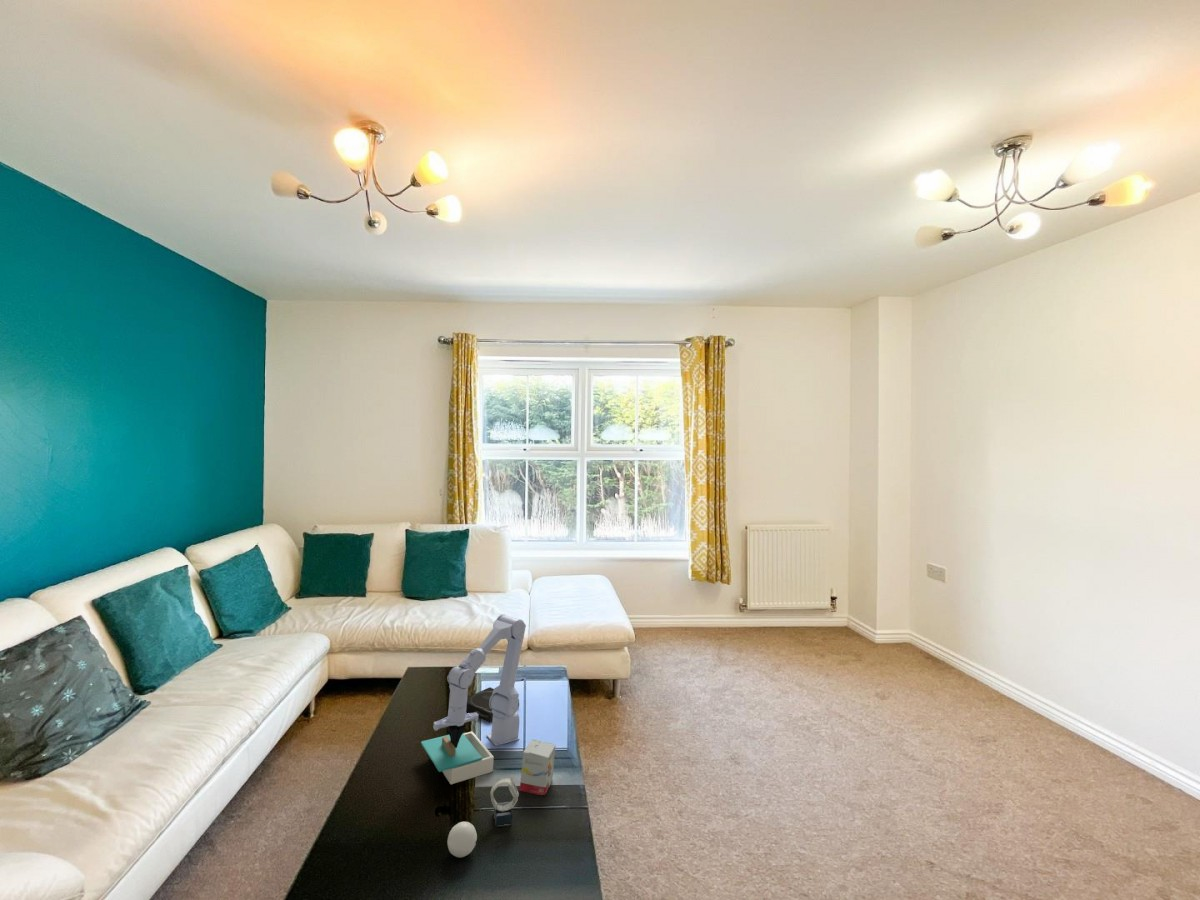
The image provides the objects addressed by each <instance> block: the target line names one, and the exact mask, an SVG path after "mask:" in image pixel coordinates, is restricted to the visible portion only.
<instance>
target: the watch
mask: <svg viewBox="0 0 1200 900" xmlns="http://www.w3.org/2000/svg"><path fill="white" fill-rule="evenodd" d="M502 785H507V787H508V790H509V792H510V794H511V796H512V797H513V798H512V800H511V801H503V802H501V801H500V802H497V801H496V799H495V796H494V793H495V791H496V789H498V788H499V787H500V786H502ZM489 795H490V800H491V803H492V806H493V814H494V816H493V820H494V819H495V821H494V826H495V825H496V826H498V825H504V824H511V825H512V823H513V822H512V821H513V820H512V819H513V812H512V809H513V808H514V806H516V805H517V804H516V803H517V802H518V800H519V799H518V797H519V796H520V794H519V791H518V788H517V786H516V783H515V781H514V780H513V778H509V777H503V778H499V779H497V781H495V782H494V783H493V785H492V787H491V789H490V793H489ZM493 814H492V815H493Z"/></svg>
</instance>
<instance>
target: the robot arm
mask: <svg viewBox="0 0 1200 900" xmlns="http://www.w3.org/2000/svg"><path fill="white" fill-rule="evenodd" d="M526 626H527V625H526V623H525V621H523V619H520V618H516V617H512V616H509V615H507V614H505V613H503V614H499V616H497V618H496V619H495V620H494V621H493V626H492V629H491V630H490V632H489V633H488V635H487V636H486V637H485V639H484V640H483V641H482V643H481V644H480V645H479V647H477V648H473V649H472V650H470V652H469V653H468V654H467V656H465V657H464V659H463V660H462V661H461V662H460V664H458V665H456V666H453V667H452V668H451V669H450V670H449V672H448V675H447V678H446V679H447V682H448V684H449V686H448V688H449V691H450V692H449V697H448V700H449V701H448V711H447V716H446V717H444V718H443V717H442V719H438V720H437V721H433V726H432V728H433V730H434V731H435V732H436V731H439V729H444V728H446V729H447V732H448V735H450V740H451V742H452V744H453V745H454V747H455V748H457V746H458V743H459V740H460V738H461V735H462V734H464V733H465V731H466V729H467V725H466V723H469V722H473V721H475V722H478V721H479V718H478V714H477V713H476V712H475V713H467V712H466V707H467V697H469V696H468V693H469V687H470V686H471V685H472V683H473V681H474V677H475V676H476V672H478V670H479V669H480V668H481V666H482V665H483V664H484V663H485V661H486V657H487V656H486V655H487V654H488V653H489V652H490V651H491V650H492V649H493V648H494V647H495V646H496V645H497V644H498V643H499V642H500V641H501V640H507V645H506V650H505V655H504V660H503V665H502V669H501V675H500V676H501V677H500V681H499V685H497V686H495V687H494V688H493V694H492V696H491V698H490V701H489V706H490V708H491V709H492V713H493V720H492V722H491V731H490V732H489V733H487V734H486V736H487V738H488V739H489V740H490V741H491V743H492V744H493V745H494V746H501V745H504V744H507V743H512V742H515V741H519V740H520V737H519V734H520V733H519V729H520V715H519V713H518V709H519V707H520V701H519V702H518V699H519V698H520V697H519V696H520V695H519V693H518V691H517V690H516V686H515V685H516V684H515V683H516V679H517V673H518V667H519V663H520V659H521V658H520V657H521V652H522V648H523V642H524V638H525V632H526ZM518 706H519V707H518Z"/></svg>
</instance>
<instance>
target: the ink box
mask: <svg viewBox="0 0 1200 900" xmlns="http://www.w3.org/2000/svg"><path fill="white" fill-rule="evenodd" d="M556 747H557V746H556V744H554V743H551V742H545V741H542V740H536V739H531V740H530V742H529V743H528V745H526V747H525V749H524V750H523V753H522V762H521V771H520V773H521V774H520V780H519V781H520V782H519V791H520V792H525V793H529V794H534V795H539V796H543V795H545V794H546V795H547V792H548V791H549V789H550V786H551V784H552V781H553V775H554V768H555V767H554V765H555V755H556ZM546 795H545V796H546Z"/></svg>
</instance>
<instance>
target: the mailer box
mask: <svg viewBox="0 0 1200 900" xmlns="http://www.w3.org/2000/svg"><path fill="white" fill-rule="evenodd" d="M463 734H464V735H465V737H466V738H467V739H468V740H469V742H470V743H471V744H472V745H473V747H474V748H475V749H476V750H477V752H478V753H479V754H480V755H481V757H482V760H479V761H475V762H472V763H468V764H465V765H461V766H458V767H454V768H451V769H447V770H444V771H441V772H442V773H443V775H444V777H445V778H446V780H447V781H448V782H449V784H450V785H453V784H456V783H460V782H464V781H466V780H469V779H473V778H476V777H481V776H482V775H487V774H489V773H492V772H494V759H495V758H494V755H493V754H492V753H491V752H490V750H489V749H488V747H486V746H485V744H484V743H483V742H482V741H481V740H480V739H479V737H478V736H477V735H476V734H475V732H474V731H469V732H463Z"/></svg>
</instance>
